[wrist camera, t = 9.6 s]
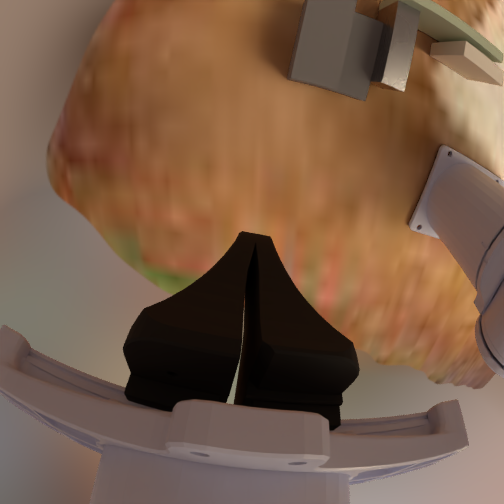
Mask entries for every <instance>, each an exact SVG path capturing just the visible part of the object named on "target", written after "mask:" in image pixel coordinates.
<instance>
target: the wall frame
mask: <svg viewBox="0 0 504 504" xmlns="http://www.w3.org/2000/svg"><path fill="white" fill-rule="evenodd" d="M429 56H431V57H433V58H434V59H436V60H438V61H440V62H441V63H443V64H444V65H446V66H448V67H449V68H451V69H452V70H454V71H455V72H457V73H458V74H460V75H461V76H463V77H464V78H466V79H468V80H474V81H480V82H485V83H490V84H494V85H499V86H503V80H504V71H503V70H501V69H500V68H499V67H498V66H497V65H496V64H495V63H494V62H492V61H491V60H490V59H489V58H488V57H486V56H485V55H484V54H483V53H481V52H480V51H479V50H478V49H476V48H475V47H474V46H472V45H471V44H470V43H468V42H467V41H450V42H437V43H432V44H431V50H430V55H429Z"/></svg>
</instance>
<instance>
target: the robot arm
mask: <svg viewBox="0 0 504 504" xmlns="http://www.w3.org/2000/svg"><path fill="white" fill-rule="evenodd" d="M449 151H450V154H449V155H448V152H449ZM418 225H420V226H419V227H418V228H417V226H418ZM409 228H410V229H411V230H412V231H415V232H419V233H422V234H425V235H429V236H432V237H435V238H438V239H441V241H442V242H443V243H444V244H445V246H446V247H447V248H448V250H449V251H450V252H451V254H452V255H453V257H454V258H455V259H456V261H457V262H458V264H459V265H460V266H461V268H462V269H463V271H464V272H465V274H466V275H467V277H468V278H469V280H470V281H471V283H472V284H473V286H474V288H475V289H476V291H477V296H476V299H475V300H474V304H475V305H476V307H477V309H478V311H479V313H480V315H479V317H478V319H477V321H476V325H475V338H476V342H477V345H478V348H479V351H480V353H481V355H482V357H483V359H484V361H485V362H486V364H487V365H488V366H489V367H490V368H491V369H492V370H493V371H494V372H495V373H496V374H498V375H499V376H501V377H503V378H504V181H503V180H502V179H500V178H499V177H497V176H496V175H494V174H493V173H491V172H490V171H488V170H487V169H485V168H484V167H482V166H481V165H479V164H477V163H476V162H474V161H473V160H471V159H469V158H468V157H466V156H464V155H462V154H461V153H459V152H457V151H455V150H454V149H452V148H450V147H448V146H446V145H442V146H440V148H439V151H438V154H437V157H436V159H435V162H434V165H433V168H432V170H431V173H430V175H429V178H428V181H427V183H426V186H425V188H424V190H423V193H422V195H421V198H420V200H419V202H418V204H417V207H416V209H415V211H414V213H413V216H412V218H411V220H410V222H409ZM244 298H245V309H244ZM243 311H244V335H243V345H242V328H243ZM241 345H242V352H241ZM123 352H124V356H125V358H126V361H127V364H128V366H129V369H130V372H131V375H130V377H129V380H128V383H127V386H126V388H125V387H122V386H119V385H116V384H113V383H110V382H107V381H104V380H102V379H99V378H96V377H94V376H91V375H89V374H86V373H84V372H81V371H79V370H77V369H74V368H72V367H70V366H67V365H65V364H63V363H60V362H58V361H56V360H54V359H52V358H50V357H47V356H46V355H44V354H42V353H40V352H38V351H36V350H34V349H32V348H31V347H30V344H29V343H28V341H27V340H26V339H25V338H24V337H23V336H22V335H21V334H20V333H18V332H16V331H15V330H13V329H11V328H9V327H8V326H6V325H3V326H2V328H1V329H0V394H1V395H2V396H3V397H4V398H5V399H7V400H8V401H9V402H11V403H12V404H14V405H15V406H16V407H18V408H19V409H21V410H22V411H24V412H25V413H27V414H28V415H30V416H31V417H33V418H35V419H36V420H38V421H39V422H41V423H43V424H44V425H46V426H48V427H50V428H51V429H53V430H55V431H56V432H58V433H60V434H62V435H63V436H66V437H67V438H69V439H71V440H73V441H75V442H77V443H79V444H81V445H83V446H85V447H87V448H89V449H92V450H94V451H96V452H98V453H101V454H102V456H101V459H100V463H99V467H98V471H97V475H96V478H95V482H94V486H93V491H92V495H91V499H90V504H349V485H353V484H359V483H364V482H370V481H374V480H379V479H383V478H388V477H392V476H396V475H400V474H403V473H407V472H410V471H414V470H417V469H420V468H423V467H427V466H430V465H433V464H435V463H437V462H439V461H442V460H444V459H446V458H448V457H450V456H452V455H454V454H456V453H458V452H460V451H462V450H464V449H466V448H468V446H469V443H468V438H467V433H466V429H465V424H464V421H463V417H462V413H461V409H460V405H459V402H458V400H451V401H445V402H441V403H439V404H437V405H435V406H433V407H432V408H431V409H429V410H428V411H427V412H422V413H416V414H409V415H401V416H392V417H382V418H369V419H349V420H348V419H347V420H341V419H340V407H339V406H340V405H342V403H343V399H342V393H343V392H344V391H345V390H346V389H347V388H348V387H349V386H350V385H351V384H352V383H353V382H354V381H355V379H356V378H357V376H358V375H359V364H358V359H357V354H356V351H355V348H354V345H353V342H352V341H350V340H349V339H348V338H346V337H345V336H344V335H342V334H341V333H340V332H338V331H337V330H336V329H335V328H333V327H332V326H331V325H330V324H329V323H328V322H327V321H326V320H325V319H323V318H322V317H321V316H320V315H319V314H318V313H317V312H316V311H315V309H314V308H313V307H312V306H311V305H310V304H309V303H308V302H307V301H306V299H305V298H304V297H303V296H302V294H301V293H300V292H299V290H298V289H297V288H296V286H295V285H294V283H293V281H292V280H291V278H290V277H289V275H288V273H287V271H286V270H285V268H284V266H283V264H282V262H281V260H280V258H279V256H278V253H277V251H276V249H275V246H274V244H273V241H272V239H271V237H270V236H265V235H260V234H255V233H249V232H244V231H242V232H240V233H239V235H238V237H237V239H236V240H235V242H234V243H233V245H232V246H231V247H230V248H229V250H228V251H227V252H226V253H225V255H224V256H223V257H222V258H221V259H220V260H219V261H218V262H217V263H216V264H215V265H214V266H213V267H212V268H211V269H210V270H209V271H208V272H206V273H205V274H204V275H203V276H202V277H200V278H199V279H198V280H196V281H195V282H194V283H192V284H191V285H189V286H188V287H186V288H185V289H183V290H182V291H180V292H178V293H176V294H175V295H173V296H171V297H169V298H167V299H166V300H164V301H161V302H159V303H156V304H154V305H152V306H149V307H146V308H144V309H143V311H142V312H141V313H140V315H139V316H138V318H137V319H136V321H135V322H134V324H133V325H132V327H131V329H130V331H129V334H128V336H127V339H126V341H125V343H124V346H123ZM240 354H241V359H240ZM239 359H240V366H239V372H238V379H237V386H236V393H235V399H234V404H228V403H226V402H227V399H228V396H229V394H230V390H231V387H232V383H233V380H234V377H235V373H236V370H237V366H238V363H239Z"/></svg>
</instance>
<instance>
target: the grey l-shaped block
mask: <svg viewBox="0 0 504 504" xmlns="http://www.w3.org/2000/svg"><path fill="white" fill-rule="evenodd" d="M377 20H378V21H380V22H382V23H383V28H382V33H381V37H380V42H379V47H378V51H377V56H376V60H375V65H374V69H373V73H372V77H371V81H370V84H372V85H375V86H377V87H380V88H382V89H389V90H395V91H401V92H404V90H405V86H406V82H407V78H408V74H409V70H410V65H411V61H412V56H413V51H414V46H415V41H416V36H417V30H420V31H422V32H424V33H425V34H427V35H429V36H431V37H432V38H434V39H436V40H437V41H439V42H450V41H467V42H468V43H470V44H471V45H472V46H474V47H475V48H476V49H478V50H479V51H480V52H481V53H483V54H484V55H485V56H486V57H488V58H489V59H490V60H491V61H492V62H498V63H502V61H503V53H502V52H501V51H500V50H498V49H497V48H496V47H495V46H494V45H493V44H492V43H490V42H489V41H488V40H487V39H486V38H484V37H483V36H482V35H481V34H480V33H478V32H477V31H476V30H474V29H473V28H472V27H470V26H469V25H468V24H466V23H465V22H464V21H462V20H461V19H459V18H458V17H457V16H455V15H454V14H452V13H451V12H449V11H448V10H446V9H444V8H443V7H441V6H440V5H438V4H436V3H435V2H433V1H431V0H383V1H382V2H380V5H379V11H378V16H377Z"/></svg>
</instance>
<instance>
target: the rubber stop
mask: <svg viewBox="0 0 504 504" xmlns="http://www.w3.org/2000/svg"><path fill="white" fill-rule="evenodd" d="M356 3H357V0H305V2H304V4H303V8H302V13H301V17H300V22H299V26H298V31H297V35H296V40H295V44H294V49H293V53H292V58H291V62H290V67H289V71H288V76H287V80H291V81H296V82H300V83H304V84H308V85H312V86H316V87H319V88H323V89H326V90H330V91H333V92H337V93H340V94H343V95H346V96H349V97H352V98H355V99H358V100H362V101H366V97H367V93H368V89H369V85H370V81H371V77H372V73H373V69H374V65H375V60H376V56H377V51H378V47H379V42H380V37H381V33H382V28H383V23H382V22H380V21H378V20H375V19H373V18H370V17H368V16H365V15H362V14H360V13H357V12H355V8H356Z"/></svg>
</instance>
